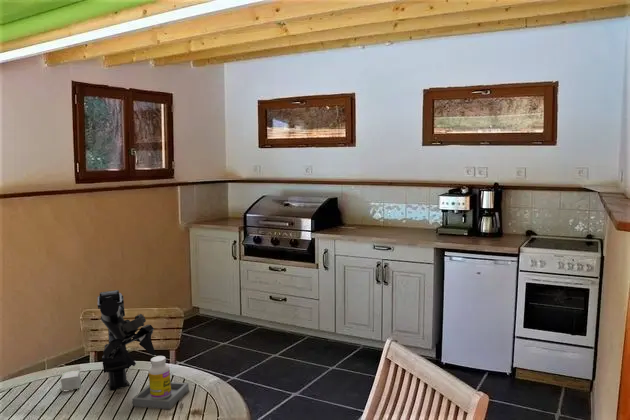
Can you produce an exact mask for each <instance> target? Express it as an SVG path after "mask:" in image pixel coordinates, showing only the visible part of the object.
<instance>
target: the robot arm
mask: <svg viewBox="0 0 630 420" xmlns="http://www.w3.org/2000/svg"><path fill="white" fill-rule="evenodd" d="M97 309H98V310H100V315H101V316H100V320H101V322H102V323H103V325H105V327H106V328H107V329H108V331H107V332H108V333H107V335H108V337H107V338H108V343H106V344H104V349H103V351H102V353H103V355H102V357H101V359H102V369H103V373H104V374H105V373H108V374H107V375H108V382H107V383H106V385H107V387H108V389H109V391H111V392H112V391H115V390H120V389H122V388H126V387H130V385H131V384H130V383H129V381H128V379H127V378H128V377H127V369H130V368H131V367H132V366H133V367H135V366H137V363H136V361H135V360H134V358H133V357H132V355H131V354H130V353H129V351H128V349H127V346H126V345H129V344H131V343H133V342H135V341H136V342H139V343H138V345H140V347H142V348H143V349H144V350H146V351H147V352H148V353H149V354H150V355H152V356H154V357H155V355H156V350H155V348H154V344H153V342H152V335H153V334H154V330H155V328H154V327H153V326H152V325H151V324H146V325H145V323H146V321H147V320H146V318H145V316H144V314H142V313H139V314H138V315H136V316H134V319H132V320H130V319H124V317H126V313H125V312H126V311H125V301H124V295H123V294H122V292H120V291H119V289H117V290H116V289H115V290H109V291H103V292H102V291H101V292H99V295H97Z"/></svg>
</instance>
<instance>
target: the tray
mask: <svg viewBox="0 0 630 420" xmlns="http://www.w3.org/2000/svg"><path fill="white" fill-rule="evenodd" d="M189 391H190V387H189V382H178V381H177V382H175V381H174V382H173V381H171V395H170V396H169V397H168V398H166V399H152V398H151V395H150V383H149V384H148V385H146V386H145V388H143V389H142V390H141V391H140V392H139V393H137V394H136V395H135V396H134V397H132V399H131V400H132V407H137V408H138V407H139V408H140V407H141V408H151V409H161V410H162V409H164V410H170V409H171V408H173V406H174V405H176V403H177V402H179V400H180V399H182V397H184V396H185V395H186V394H187V393H188V392H189Z"/></svg>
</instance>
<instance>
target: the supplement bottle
mask: <svg viewBox="0 0 630 420" xmlns="http://www.w3.org/2000/svg"><path fill="white" fill-rule="evenodd" d="M166 362H167V358H166V356H164V355H157V356H154V357H152V358H150V363H151V365H150V367H149V368H148V381H149V384H150V395H151V398H152V399H166V398H168V397H169V396H170V395H171V382H172V381H171V372H170V371H171V370H170V366H169V364H168V363H166Z"/></svg>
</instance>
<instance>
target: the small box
mask: <svg viewBox="0 0 630 420" xmlns="http://www.w3.org/2000/svg"><path fill="white" fill-rule="evenodd" d="M60 385H61V392H62V391H64V390H71V391H73V390H72V389H77V390H79V389H80V388H81V385H82V378H81V371H80V369H79V370H73V371H72V370H71V371H67V372H66V371H65V372H63V373H62V374H61V377H60ZM78 388H79V389H78Z"/></svg>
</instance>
